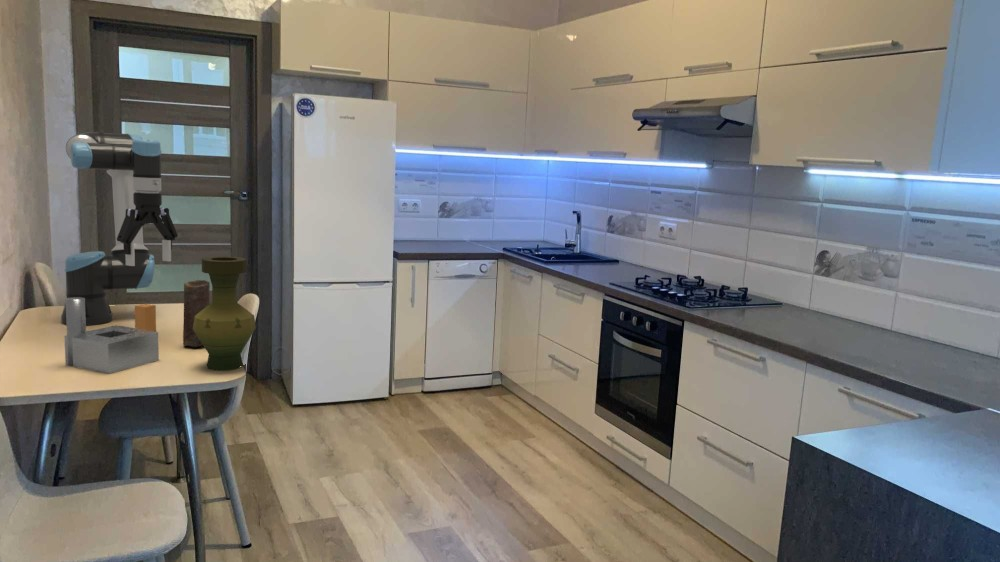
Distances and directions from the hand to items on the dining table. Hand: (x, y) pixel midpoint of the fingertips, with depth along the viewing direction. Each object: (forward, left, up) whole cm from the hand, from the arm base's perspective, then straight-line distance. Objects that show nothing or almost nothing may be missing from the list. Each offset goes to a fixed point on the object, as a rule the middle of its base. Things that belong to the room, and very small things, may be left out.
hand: (149, 263), depth 215 cm
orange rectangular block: (0, -1, -25) cm, 25 cm away
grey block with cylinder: (+9, -20, -25) cm, 33 cm away
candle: (+14, +5, -25) cm, 29 cm away
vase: (+36, -7, -25) cm, 44 cm away
